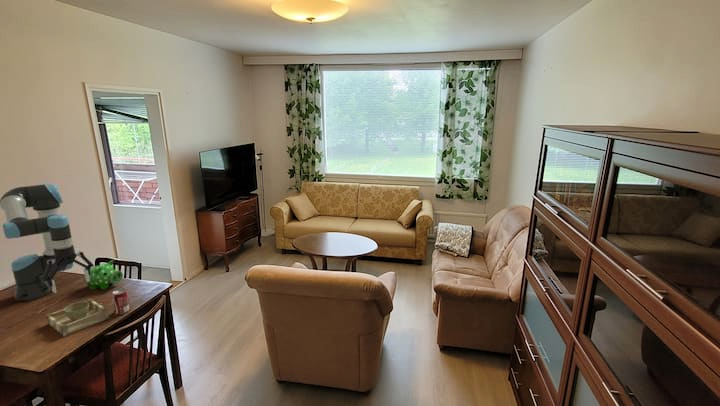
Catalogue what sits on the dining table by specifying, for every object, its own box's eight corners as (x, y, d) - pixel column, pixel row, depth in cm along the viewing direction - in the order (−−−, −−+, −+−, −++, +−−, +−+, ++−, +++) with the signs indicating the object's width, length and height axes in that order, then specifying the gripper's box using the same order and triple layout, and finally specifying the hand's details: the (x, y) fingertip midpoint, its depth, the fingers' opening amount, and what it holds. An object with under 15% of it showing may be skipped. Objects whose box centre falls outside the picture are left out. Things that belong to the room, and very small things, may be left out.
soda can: (132, 309, 187) (129, 289, 184) (120, 316, 180) (116, 295, 177) (123, 307, 189) (120, 287, 186) (111, 313, 182) (107, 293, 180)
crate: (48, 324, 173) (46, 314, 171) (92, 307, 188) (90, 298, 187) (63, 336, 163) (61, 326, 162) (108, 317, 179) (107, 308, 178)
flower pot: (77, 325, 170) (74, 312, 168) (61, 323, 172) (58, 310, 170) (96, 314, 180) (94, 302, 178) (80, 312, 182) (78, 300, 180)
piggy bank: (110, 292, 204) (106, 269, 201) (80, 291, 204) (75, 268, 201) (126, 281, 218) (122, 259, 215) (98, 280, 218) (94, 259, 215)
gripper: (32, 256, 154) (42, 299, 159) (96, 240, 174) (103, 278, 180) (26, 253, 157) (36, 294, 163) (90, 237, 178) (97, 274, 183)
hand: (71, 286), depth 171 cm, fingers open, 13 cm apart
